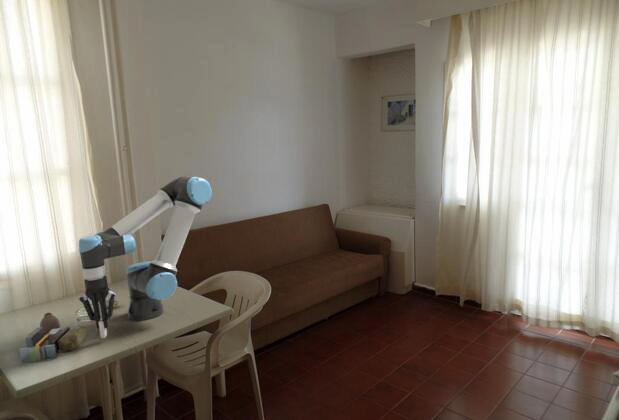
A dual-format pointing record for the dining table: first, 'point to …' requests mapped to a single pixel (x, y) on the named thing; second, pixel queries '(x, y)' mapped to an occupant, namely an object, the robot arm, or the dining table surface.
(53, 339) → the plunger
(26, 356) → the gauge housing
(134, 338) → the dining table surface
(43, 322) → the vase
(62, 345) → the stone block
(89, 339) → the dining table surface
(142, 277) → the robot arm
